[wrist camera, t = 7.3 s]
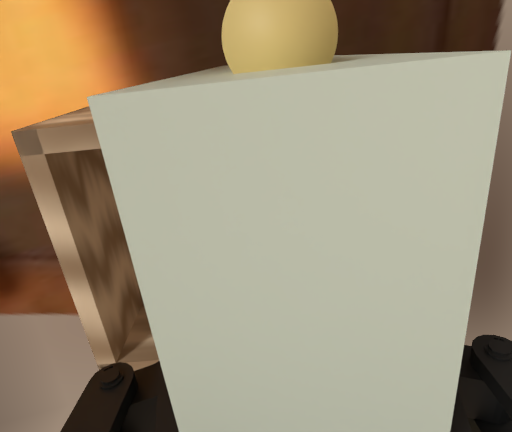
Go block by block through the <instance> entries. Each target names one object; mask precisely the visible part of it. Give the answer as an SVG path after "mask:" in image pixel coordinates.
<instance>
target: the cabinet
mask: <svg viewBox="0 0 512 432" xmlns="http://www.w3.org/2000/svg"><path fill="white" fill-rule="evenodd" d="M11 133H12V136H13V138H14V141H15V144H16V147H17V149H18V152H19V155H20V157H21V160H22V163H23V165H24V168H25V171H26V174H27V176H28V179H29V182H30V184H31V187H32V190H33V192H34V195H35V198H36V201H37V203H38V206H39V209H40V211H41V214H42V217H43V219H44V222H45V225H46V228H47V230H48V233H49V236H50V238H51V241H52V244H53V246H54V249H55V252H56V255H57V257H58V260H59V263H60V265H61V268H62V271H63V273H64V276H65V279H66V282H67V284H68V287H69V290H70V292H71V295H72V298H73V300H74V303H75V306H76V308H77V311H78V314H79V317H80V319H81V322H82V325H83V327H84V330H85V333H86V335H87V338H88V341H89V344H90V346H91V349H92V352H93V354H94V357H95V360H96V362H97V365H98V368H99V370H100V369H102V368H103V367H105V366H108V365H110V364H113V363H118V362H123V363H128V364H129V365H131V366H132V368H133V370H134V371H135V370H138V369H141V368H144V367H147V366H150V365H152V364H155V363H156V362H158V361H159V357H158V354H157V350H156V346H155V343H154V339H153V335H152V332H151V328H150V325H149V321H148V317H147V314H146V310H145V306H144V303H143V299H142V295H141V292H140V288H139V285H138V281H137V277H136V274H135V270H134V266H133V263H132V259H131V255H130V252H129V248H128V245H127V241H126V237H125V234H124V230H123V226H122V223H121V219H120V215H119V212H118V208H117V205H116V201H115V197H114V194H113V190H112V186H111V183H110V179H109V175H108V172H107V168H106V165H105V161H104V157H103V154H102V150H101V146H100V143H99V139H98V135H97V132H96V128H95V125H94V121H93V117H92V114H91V110H90V106H89V107H86V108H82V109H79V110H76V111H73V112H70V113H67V114H64V115H61V116H58V117H55V118H52V119H48V120H45V121H42V122H39V123H36V124H33V125H30V126H27V127H24V128H21V129H17V130H14V131H11Z"/></svg>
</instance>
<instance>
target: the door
mask: <svg viewBox="0 0 512 432" xmlns="http://www.w3.org/2000/svg"><path fill="white" fill-rule="evenodd" d="M337 40H338V23H337V18H336V13H335V10H334V7H333V4H332V2H331V0H231V1H230V2H229V5H228V7H227V9H226V12H225V15H224V19H223V25H222V46H223V51H224V55H225V58H226V61H227V63H228V66H221V67H216V68H212V69H208V70H203V71H199V72H194V73H190V74H186V75H181V76H177V77H172V78H168V79H164V80H159V81H155V82H150V83H146V84H142V85H137V86H133V87H128V88H124V89H120V90H115V91H111V92H106V93H102V94H98V95H93V96H89V97H87V99H88V103H89V106H90V110H91V114H92V117H93V121H94V125H95V128H96V132H97V135H98V139H99V143H100V146H101V150H102V154H103V157H104V161H105V165H106V168H107V172H108V175H109V179H110V183H111V186H112V190H113V194H114V197H115V201H116V205H117V208H118V212H119V215H120V219H121V223H122V226H123V230H124V234H125V237H126V241H127V245H128V248H129V252H130V255H131V259H132V263H133V266H134V270H135V274H136V277H137V281H138V285H139V288H140V292H141V295H142V299H143V303H144V306H145V310H146V314H147V317H148V321H149V325H150V328H151V332H152V335H153V339H154V343H155V346H156V350H157V354H158V357H159V361H160V365H161V368H162V372H163V375H164V379H165V383H166V386H167V390H168V394H169V397H170V401H171V405H172V408H173V412H174V415H175V419H176V423H177V426H178V430H179V432H450V430H451V424H452V418H453V411H454V405H455V399H456V393H457V387H458V380H459V374H460V368H461V362H462V355H463V349H464V343H465V336H466V330H467V324H468V318H469V311H470V305H471V299H472V292H473V286H474V280H475V274H476V268H477V261H478V255H479V249H480V243H481V237H482V230H483V224H484V218H485V212H486V205H487V199H488V193H489V187H490V180H491V174H492V168H493V162H494V155H495V149H496V143H497V137H498V130H499V124H500V118H501V112H502V105H503V99H504V93H505V86H506V80H507V74H508V67H509V61H510V55H511V50H508V51H507V50H506V51H472V52H437V53H403V54H368V55H334V54H335V50H336V46H337Z"/></svg>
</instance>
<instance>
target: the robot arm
mask: <svg viewBox="0 0 512 432" xmlns="http://www.w3.org/2000/svg"><path fill="white" fill-rule="evenodd" d="M61 432H179V430H178V426H177V423H176V419H175V415H174V412H173V408H172V405H171V401H170V397H169V394H168V390H167V386H166V383H165V379H164V375H163V372H162V368H161V365H160V361H158V362H156V363H155V364H152V365H150V366H147V367H144V368H141V369H138V370H135V371H134V370H133V368H132V366H131V365H129V364H128V363H123V362H118V363H113V364H110V365H108V366H105V367H103V368H102V369H100V370H99V371H98V372H96V373H95V374H94V376H93V377H92V378H91V380H90V381H89V383H88V384H87V386H86V388H85V390H84V391H83V393H82V395H81V397H80V398H79V400H78V402H77V404H76V406H75V407H74V409H73V411H72V413H71V414H70V416H69V418H68V419H67V421H66V423H65V425H64V426H63V428H62V430H61ZM450 432H512V341H510V340H508V339H506V338H503V337H500V336H496V335H482V336H478V337H476V338H475V339H474V340H473V342H472V346H467V345H464V349H463V355H462V362H461V368H460V374H459V380H458V387H457V393H456V399H455V405H454V411H453V418H452V424H451V430H450Z"/></svg>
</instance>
